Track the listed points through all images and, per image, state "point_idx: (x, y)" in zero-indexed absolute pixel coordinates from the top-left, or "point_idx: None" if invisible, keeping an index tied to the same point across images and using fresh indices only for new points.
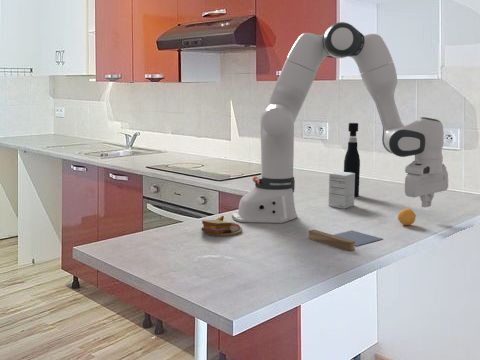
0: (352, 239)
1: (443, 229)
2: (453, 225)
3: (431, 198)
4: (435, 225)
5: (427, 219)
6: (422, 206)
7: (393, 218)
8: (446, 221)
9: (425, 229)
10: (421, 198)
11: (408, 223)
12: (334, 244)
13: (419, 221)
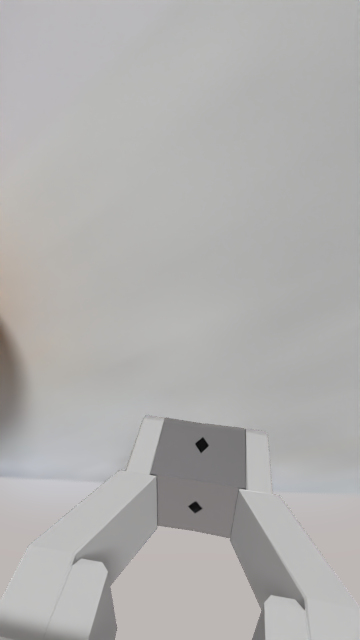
0: None
1: (101, 481)
2: None
3: (257, 597)
4: None
5: (277, 323)
6: (145, 421)
7: (13, 37)
8: (319, 439)
9: (7, 425)
10: (61, 537)
11: None
12: None
13: (150, 312)
